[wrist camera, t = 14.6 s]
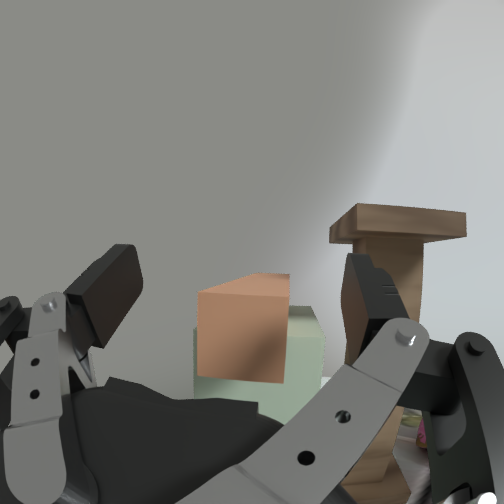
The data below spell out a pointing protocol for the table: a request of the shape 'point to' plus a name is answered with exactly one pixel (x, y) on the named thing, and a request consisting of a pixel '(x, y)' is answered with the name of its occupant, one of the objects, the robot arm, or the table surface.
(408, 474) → the table surface
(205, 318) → the peach wooden plank
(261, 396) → the sage block
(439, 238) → the walnut stand
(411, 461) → the table surface
